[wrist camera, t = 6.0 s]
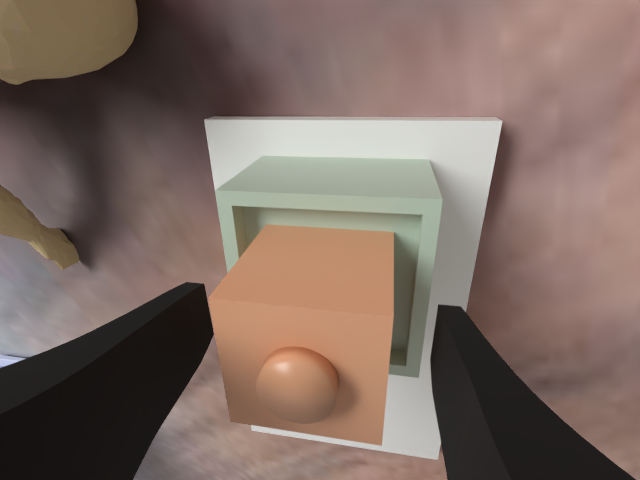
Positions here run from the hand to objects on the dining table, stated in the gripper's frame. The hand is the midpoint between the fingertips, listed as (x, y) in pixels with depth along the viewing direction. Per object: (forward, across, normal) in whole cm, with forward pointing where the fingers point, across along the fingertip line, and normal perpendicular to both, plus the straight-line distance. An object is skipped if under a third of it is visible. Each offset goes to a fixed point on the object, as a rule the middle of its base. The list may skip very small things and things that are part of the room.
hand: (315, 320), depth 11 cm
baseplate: (+7, 0, +5) cm, 9 cm away
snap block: (+2, 0, 0) cm, 2 cm away
